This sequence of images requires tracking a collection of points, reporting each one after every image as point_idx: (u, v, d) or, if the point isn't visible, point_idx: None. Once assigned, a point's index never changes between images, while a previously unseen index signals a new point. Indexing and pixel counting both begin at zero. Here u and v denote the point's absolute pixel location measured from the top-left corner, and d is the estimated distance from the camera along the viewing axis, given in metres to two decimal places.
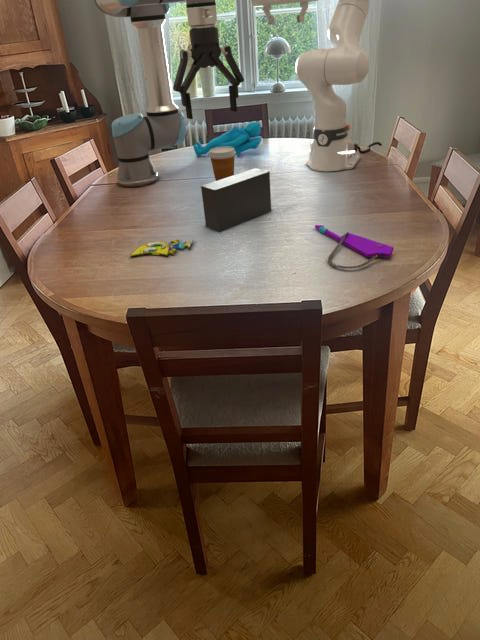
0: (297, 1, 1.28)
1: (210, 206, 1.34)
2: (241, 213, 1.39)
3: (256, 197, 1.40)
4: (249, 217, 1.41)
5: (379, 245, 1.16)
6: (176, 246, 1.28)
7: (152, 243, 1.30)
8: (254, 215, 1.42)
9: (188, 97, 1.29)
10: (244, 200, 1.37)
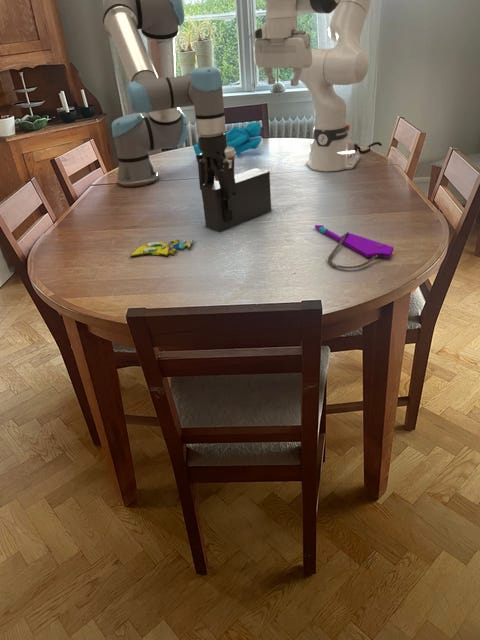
0: (290, 67, 1.34)
1: (210, 206, 1.34)
2: (241, 213, 1.39)
3: (256, 197, 1.40)
4: (249, 217, 1.41)
5: (379, 245, 1.16)
6: (176, 246, 1.28)
7: (152, 243, 1.30)
8: (254, 215, 1.42)
9: None
10: (244, 200, 1.37)
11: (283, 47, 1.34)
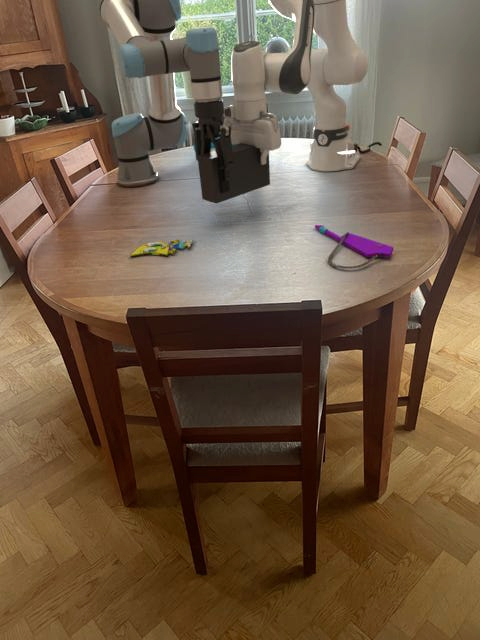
0: (259, 147, 1.32)
1: (207, 177, 1.29)
2: (239, 184, 1.34)
3: (254, 169, 1.36)
4: (247, 189, 1.37)
5: (379, 245, 1.16)
6: (176, 246, 1.28)
7: (152, 243, 1.30)
8: (252, 188, 1.38)
9: None
10: (242, 171, 1.33)
11: (252, 128, 1.31)
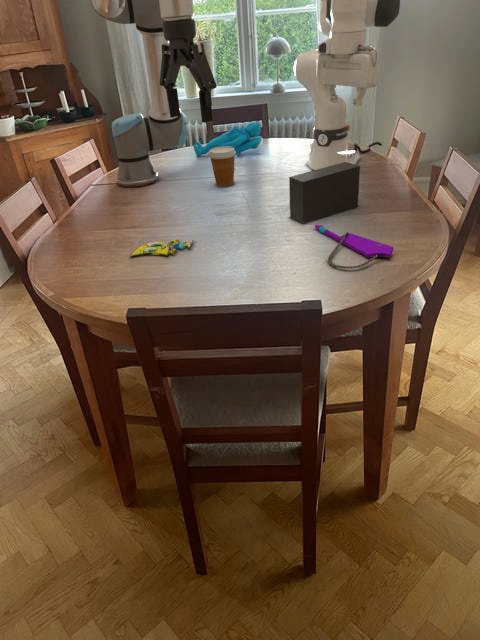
0: (353, 85, 1.22)
1: (296, 198, 1.34)
2: (327, 206, 1.38)
3: (344, 191, 1.38)
4: (334, 211, 1.40)
5: (379, 245, 1.16)
6: (176, 246, 1.28)
7: (152, 243, 1.30)
8: (340, 209, 1.41)
9: None
10: (331, 194, 1.36)
11: (347, 64, 1.22)
